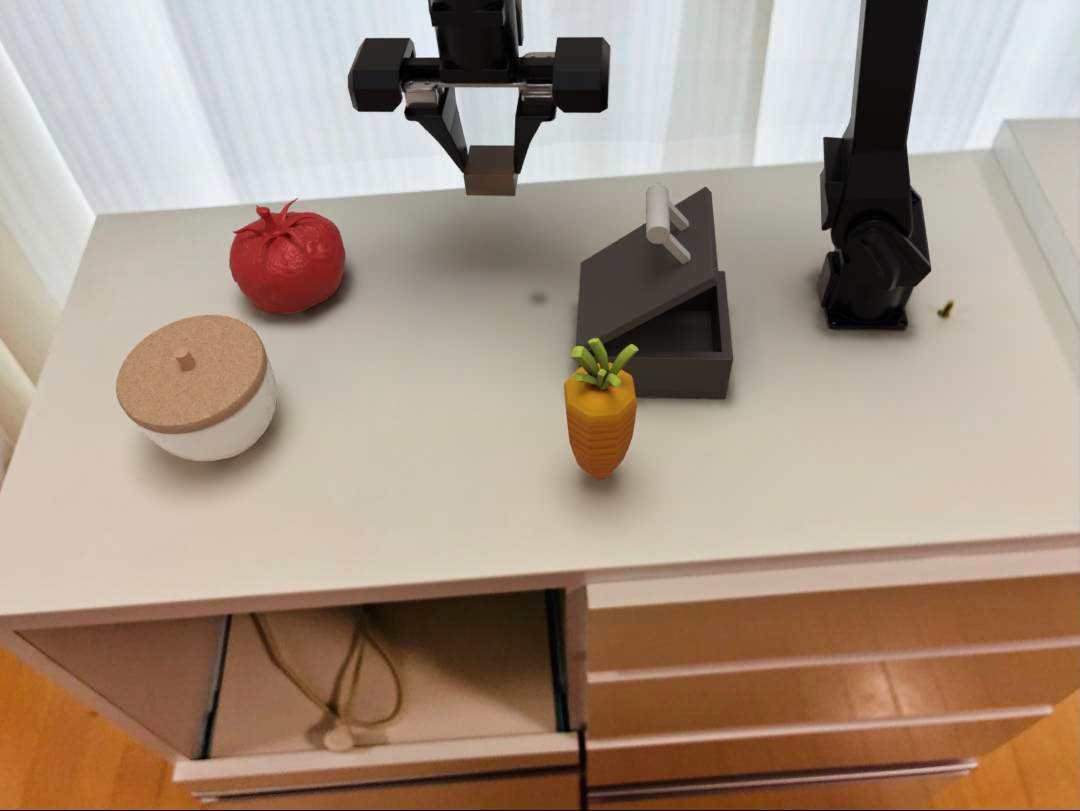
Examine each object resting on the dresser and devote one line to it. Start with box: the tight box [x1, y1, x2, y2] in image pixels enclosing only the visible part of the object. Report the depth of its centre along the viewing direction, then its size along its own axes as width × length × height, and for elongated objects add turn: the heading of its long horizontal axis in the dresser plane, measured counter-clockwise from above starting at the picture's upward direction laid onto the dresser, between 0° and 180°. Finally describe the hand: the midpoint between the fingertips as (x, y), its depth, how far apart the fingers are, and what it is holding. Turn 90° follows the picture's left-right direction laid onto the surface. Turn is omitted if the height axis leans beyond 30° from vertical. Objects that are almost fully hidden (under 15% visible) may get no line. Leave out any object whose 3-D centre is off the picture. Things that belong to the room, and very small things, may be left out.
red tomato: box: [228, 197, 346, 315], centre depth 72 cm, size 10×10×9 cm
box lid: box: [575, 183, 719, 352], centre depth 61 cm, size 12×10×5 cm
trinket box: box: [115, 314, 278, 462], centre depth 63 cm, size 11×11×9 cm
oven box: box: [578, 270, 734, 400], centre depth 67 cm, size 12×10×5 cm
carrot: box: [563, 338, 639, 481], centre depth 56 cm, size 5×5×15 cm
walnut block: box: [462, 144, 519, 197], centre depth 67 cm, size 4×4×2 cm
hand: (492, 170), depth 67 cm, fingers closed on walnut block, 4 cm apart
